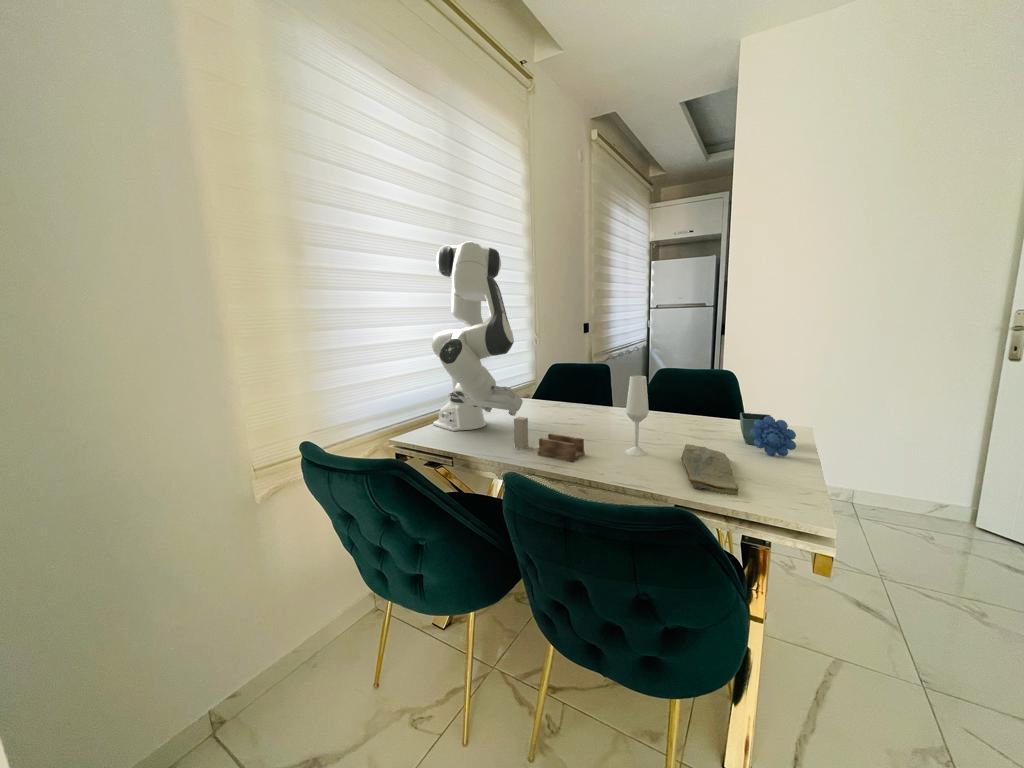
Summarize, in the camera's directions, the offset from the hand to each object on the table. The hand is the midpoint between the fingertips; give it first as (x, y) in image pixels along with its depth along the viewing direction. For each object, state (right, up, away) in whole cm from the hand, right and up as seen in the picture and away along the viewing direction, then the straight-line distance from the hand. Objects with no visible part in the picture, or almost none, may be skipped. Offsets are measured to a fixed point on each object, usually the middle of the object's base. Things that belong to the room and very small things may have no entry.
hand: (501, 412), depth 121 cm
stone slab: (+57, -16, -13) cm, 60 cm away
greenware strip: (+7, -13, +11) cm, 18 cm away
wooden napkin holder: (+19, -14, +2) cm, 23 cm away
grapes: (+80, -13, -4) cm, 81 cm away
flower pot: (+83, -11, +8) cm, 84 cm away
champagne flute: (+42, -13, +3) cm, 45 cm away
